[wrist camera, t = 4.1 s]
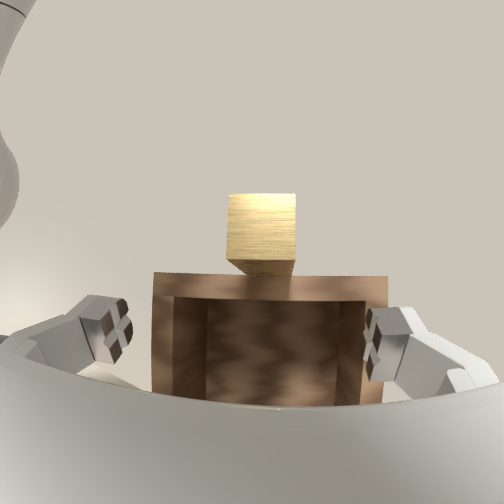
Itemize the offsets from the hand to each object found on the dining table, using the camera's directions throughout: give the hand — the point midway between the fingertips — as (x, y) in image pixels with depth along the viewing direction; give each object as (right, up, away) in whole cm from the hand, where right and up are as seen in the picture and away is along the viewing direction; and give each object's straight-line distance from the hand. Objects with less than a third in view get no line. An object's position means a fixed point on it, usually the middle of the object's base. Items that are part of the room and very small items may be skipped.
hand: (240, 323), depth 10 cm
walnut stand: (+2, -26, +18) cm, 32 cm away
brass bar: (+2, 0, +17) cm, 18 cm away
